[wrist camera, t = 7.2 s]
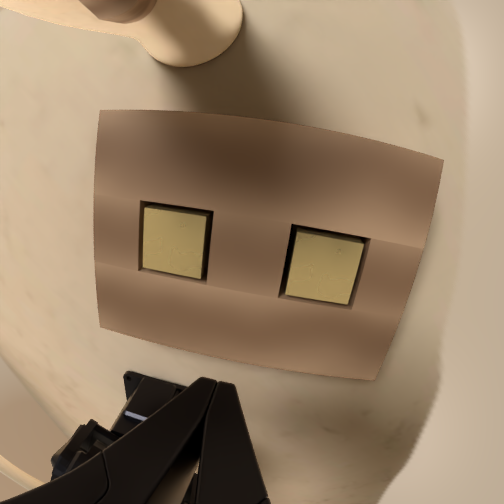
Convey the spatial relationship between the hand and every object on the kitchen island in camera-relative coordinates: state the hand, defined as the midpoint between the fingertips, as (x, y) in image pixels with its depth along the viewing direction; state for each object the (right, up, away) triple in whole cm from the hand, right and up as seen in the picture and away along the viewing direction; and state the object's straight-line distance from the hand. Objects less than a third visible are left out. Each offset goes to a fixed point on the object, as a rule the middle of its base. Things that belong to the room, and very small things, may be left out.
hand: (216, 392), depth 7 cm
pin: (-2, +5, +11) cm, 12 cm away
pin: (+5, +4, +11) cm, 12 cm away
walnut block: (+1, +4, +11) cm, 12 cm away
